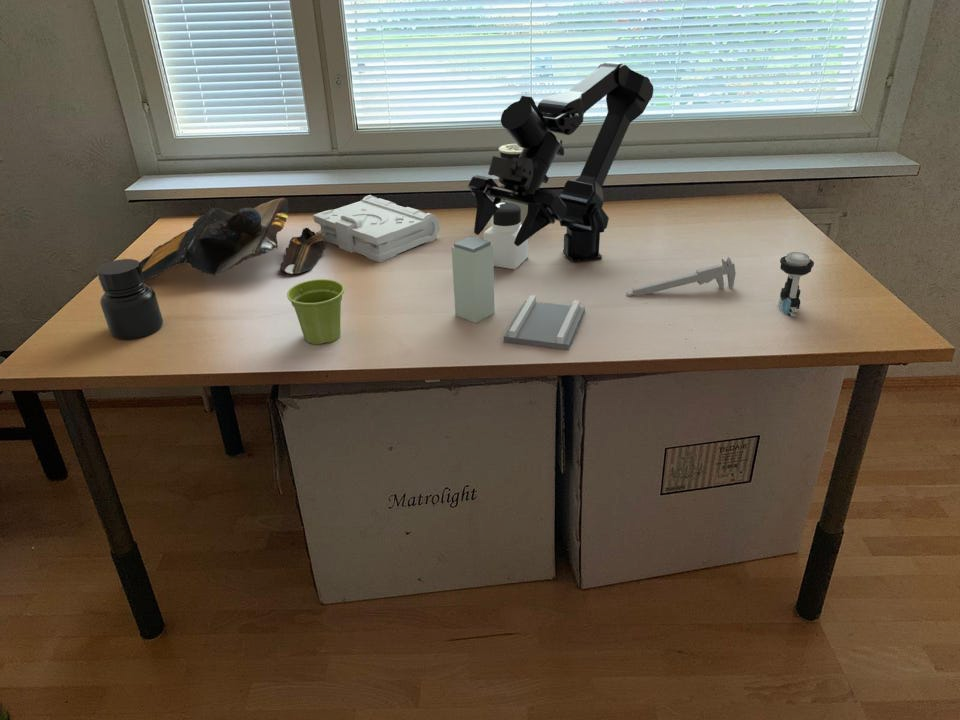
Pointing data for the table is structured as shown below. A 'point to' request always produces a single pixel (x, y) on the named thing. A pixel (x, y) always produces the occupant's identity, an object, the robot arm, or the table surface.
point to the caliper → (692, 279)
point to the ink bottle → (128, 300)
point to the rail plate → (545, 324)
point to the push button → (793, 280)
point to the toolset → (235, 242)
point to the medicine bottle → (506, 236)
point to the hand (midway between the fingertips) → (495, 239)
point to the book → (377, 228)
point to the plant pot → (318, 309)
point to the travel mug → (508, 153)
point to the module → (473, 278)
